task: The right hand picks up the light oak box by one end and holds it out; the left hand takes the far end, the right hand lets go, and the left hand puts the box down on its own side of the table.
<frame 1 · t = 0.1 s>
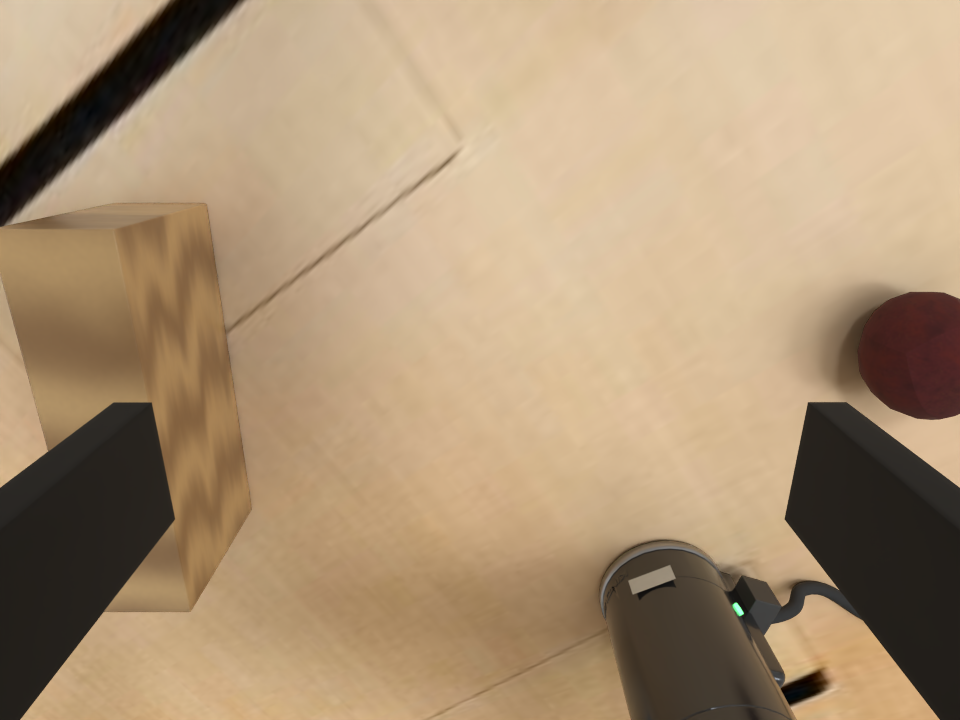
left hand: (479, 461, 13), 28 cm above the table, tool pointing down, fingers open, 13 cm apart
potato: (889, 334, 41), on the table
box: (188, 370, 42), on the table
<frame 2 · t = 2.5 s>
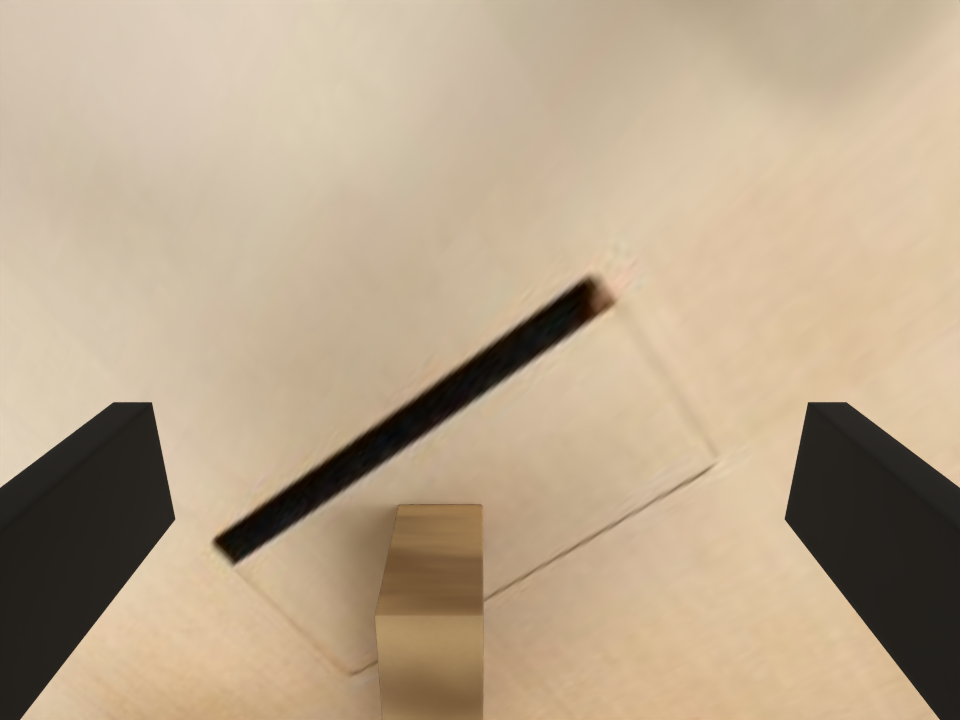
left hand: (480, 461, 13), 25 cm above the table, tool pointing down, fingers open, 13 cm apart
box: (443, 630, 47), on the table, touching right hand
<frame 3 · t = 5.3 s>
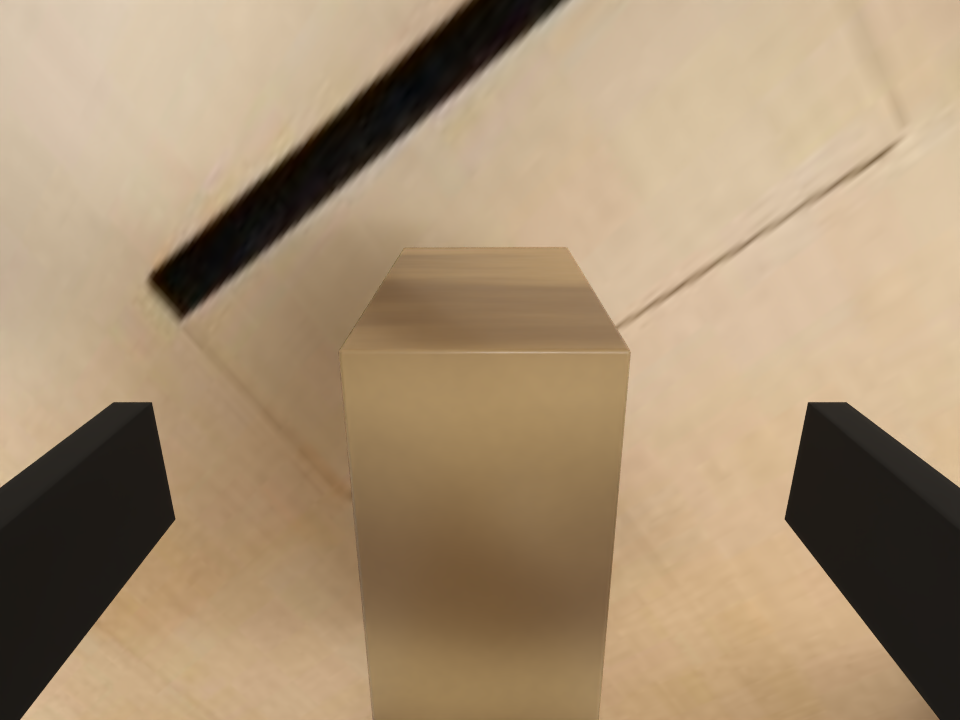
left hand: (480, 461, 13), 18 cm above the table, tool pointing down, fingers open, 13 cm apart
box: (486, 511, 26), point 7 cm above the table, touching right hand
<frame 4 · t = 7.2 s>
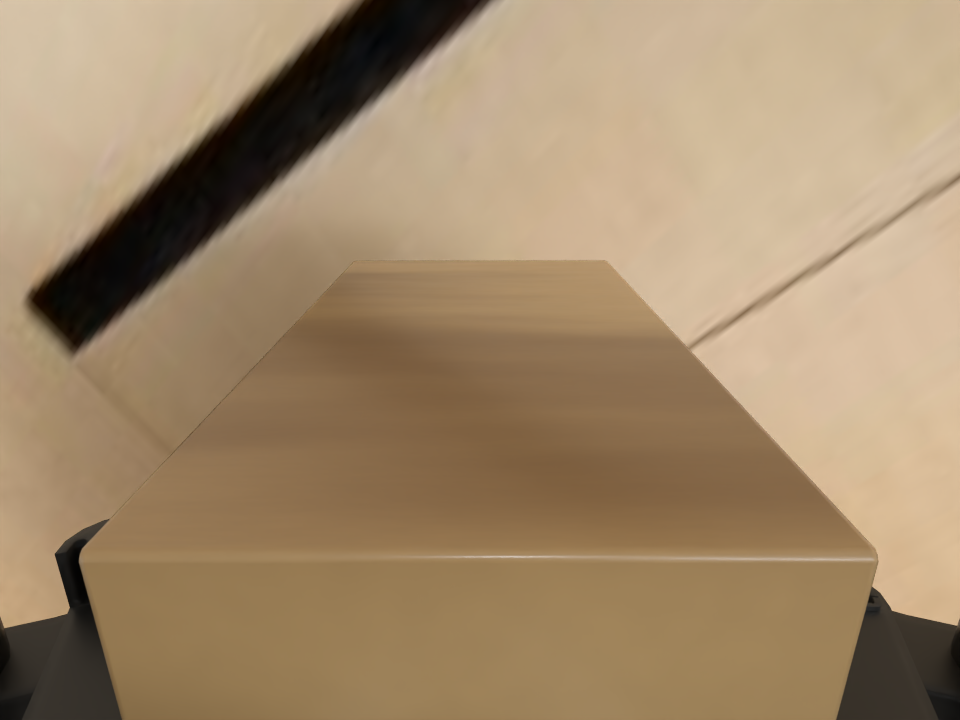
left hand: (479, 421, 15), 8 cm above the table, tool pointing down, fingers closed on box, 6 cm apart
box: (480, 638, 18), point 7 cm above the table, touching left hand, right hand
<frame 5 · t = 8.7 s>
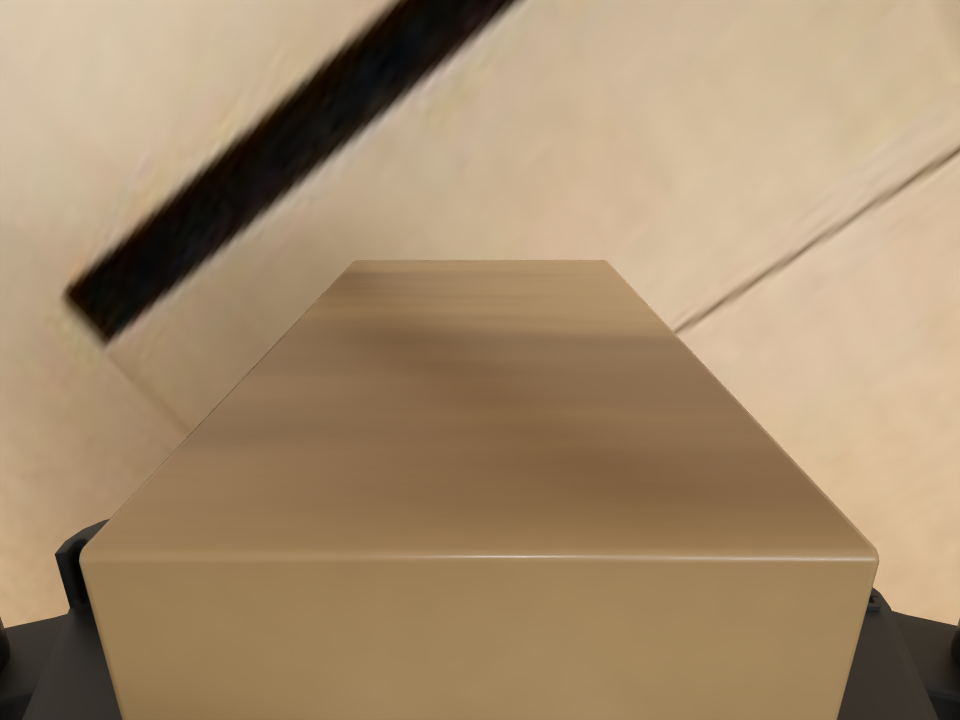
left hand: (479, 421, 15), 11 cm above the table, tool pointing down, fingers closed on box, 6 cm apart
box: (480, 638, 18), point 10 cm above the table, touching left hand
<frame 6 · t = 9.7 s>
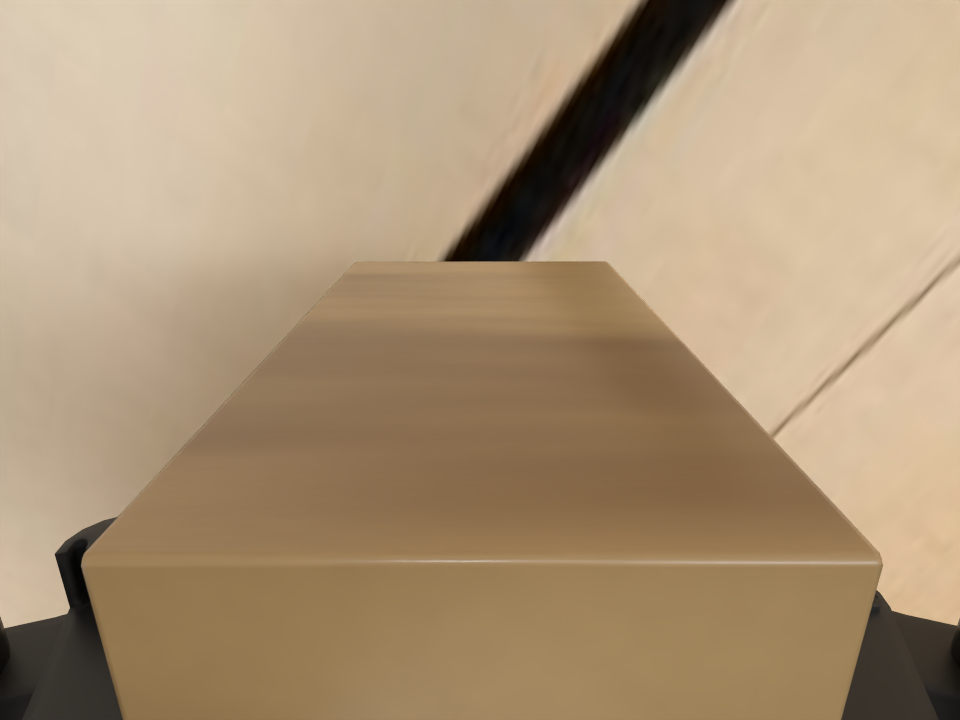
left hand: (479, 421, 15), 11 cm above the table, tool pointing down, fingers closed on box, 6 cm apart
box: (481, 640, 18), point 10 cm above the table, touching left hand
when the left hand's fingers open (2 cm above the table, at t = 12.4 s): box drops 1 cm, on the table.
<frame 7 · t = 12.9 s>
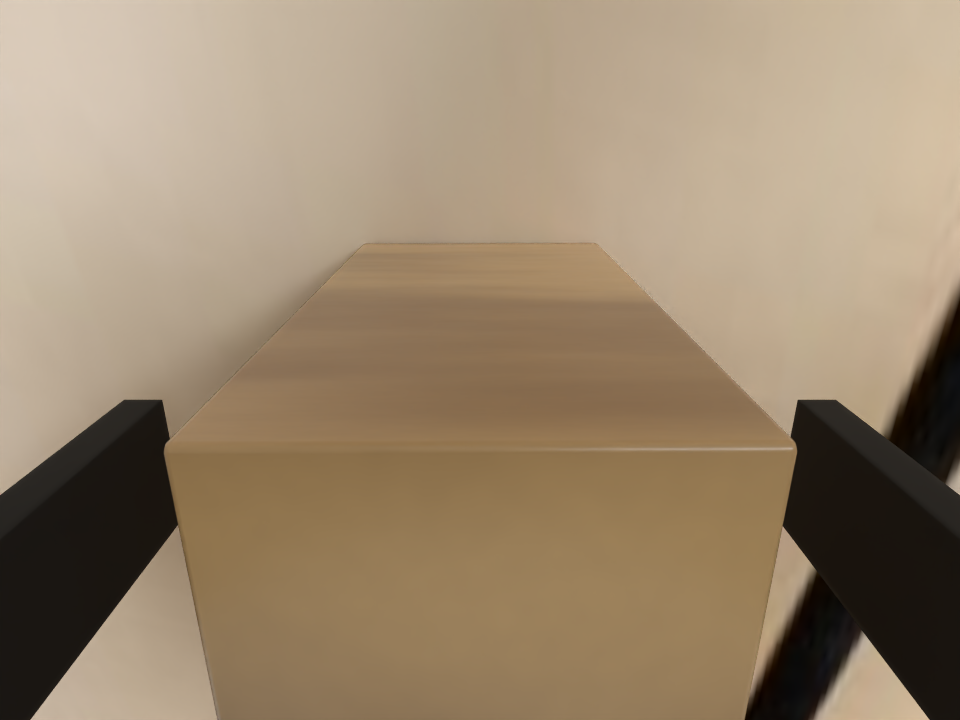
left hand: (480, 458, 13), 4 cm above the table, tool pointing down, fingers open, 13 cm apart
box: (480, 602, 19), on the table
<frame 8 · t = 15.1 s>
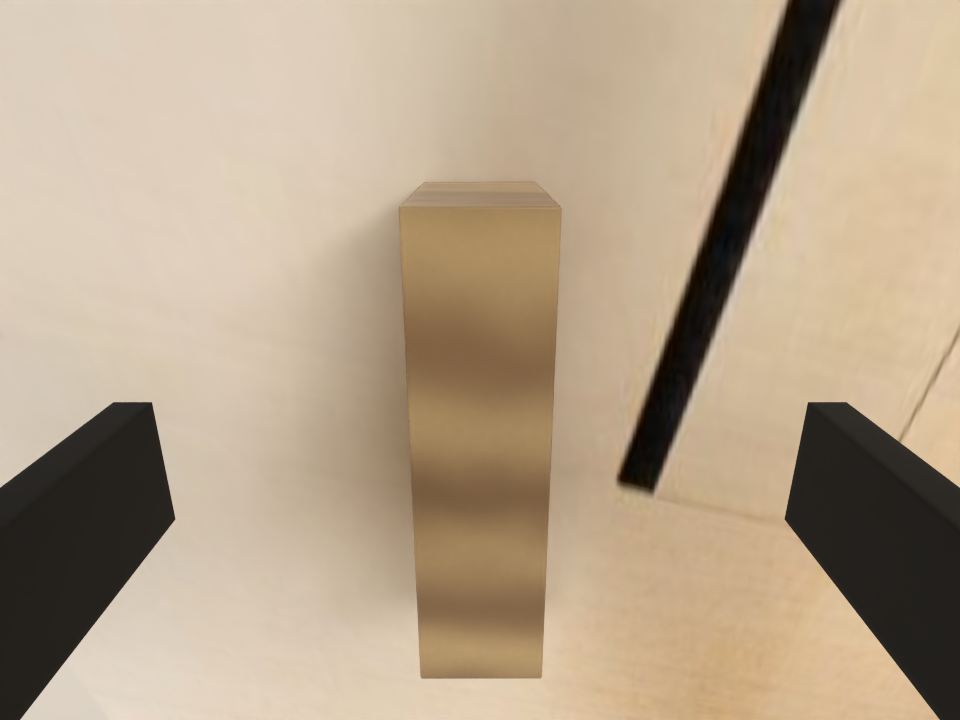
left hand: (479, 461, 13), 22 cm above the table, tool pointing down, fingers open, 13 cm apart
box: (480, 381, 36), on the table
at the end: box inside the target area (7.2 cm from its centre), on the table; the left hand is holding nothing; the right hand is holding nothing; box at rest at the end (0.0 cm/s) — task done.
